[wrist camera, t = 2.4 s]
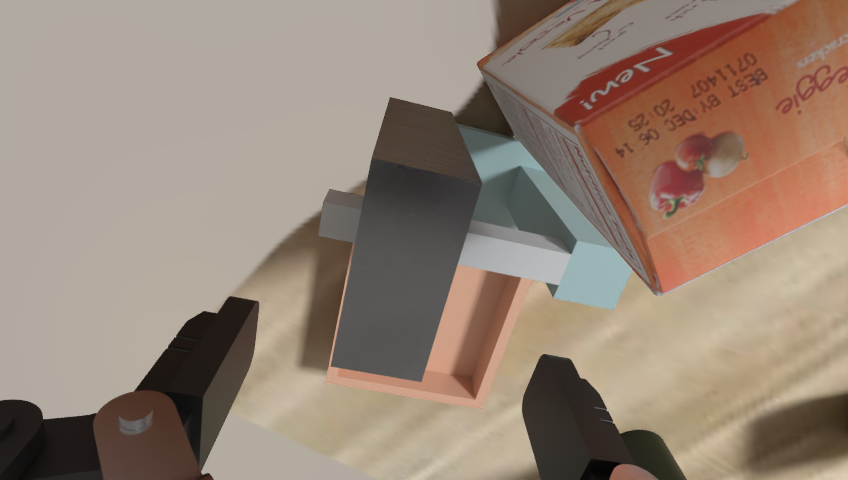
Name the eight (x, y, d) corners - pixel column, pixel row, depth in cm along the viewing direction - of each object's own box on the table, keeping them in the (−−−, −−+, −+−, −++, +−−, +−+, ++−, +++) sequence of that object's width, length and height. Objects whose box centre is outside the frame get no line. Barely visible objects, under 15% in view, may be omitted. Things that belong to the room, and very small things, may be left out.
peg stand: (363, 100, 30) (331, 150, 18) (565, 149, 32) (655, 224, 20) (347, 186, 33) (310, 279, 21) (536, 227, 34) (600, 335, 22)
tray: (361, 205, 33) (356, 224, 30) (528, 241, 35) (539, 262, 32) (332, 354, 39) (325, 382, 36) (476, 380, 40) (482, 408, 37)
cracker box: (683, -84, 26) (1382, -361, 7) (715, 16, 29) (1315, 3, 10) (468, 57, 29) (572, 122, 10) (513, 138, 31) (666, 314, 12)
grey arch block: (389, 97, 26) (371, 157, 14) (451, 112, 27) (482, 183, 15) (362, 229, 30) (330, 366, 18) (417, 241, 30) (421, 382, 18)
